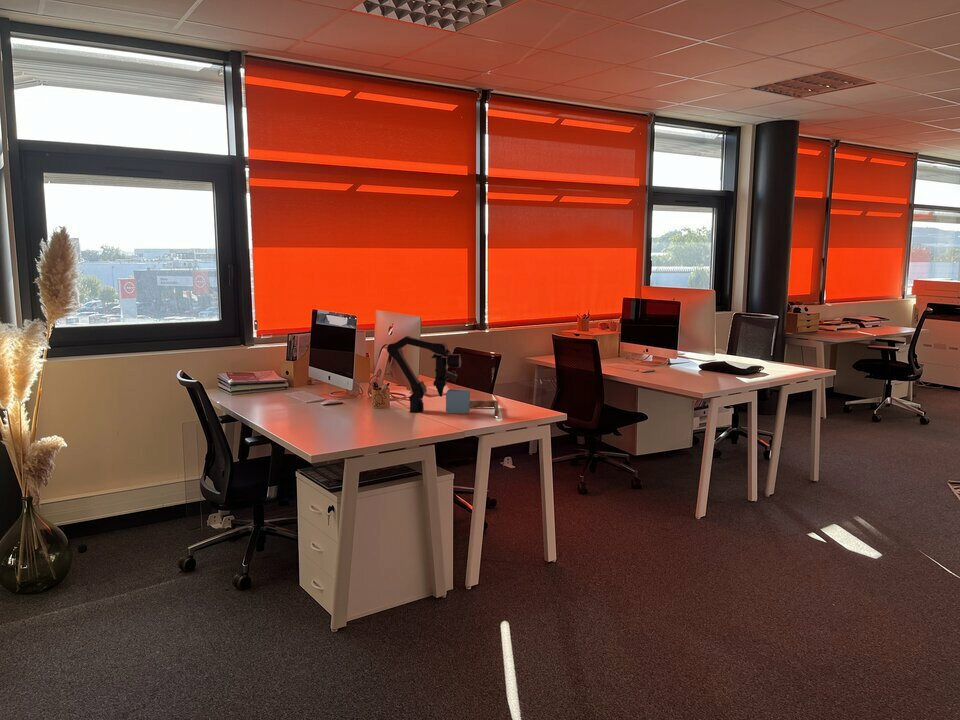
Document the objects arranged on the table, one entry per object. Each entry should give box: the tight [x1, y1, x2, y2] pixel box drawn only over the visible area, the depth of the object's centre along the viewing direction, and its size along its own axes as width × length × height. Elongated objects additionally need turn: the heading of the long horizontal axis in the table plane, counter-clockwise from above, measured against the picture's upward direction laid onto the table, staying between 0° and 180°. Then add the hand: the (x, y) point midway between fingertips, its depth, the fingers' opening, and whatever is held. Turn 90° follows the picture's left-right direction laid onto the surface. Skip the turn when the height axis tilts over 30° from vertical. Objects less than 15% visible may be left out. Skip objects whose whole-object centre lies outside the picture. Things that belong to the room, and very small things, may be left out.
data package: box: [445, 388, 471, 414], centre depth 364 cm, size 12×4×12 cm, turn 81°
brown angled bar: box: [470, 399, 499, 417], centre depth 366 cm, size 20×25×4 cm
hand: (440, 396), depth 364 cm, fingers closed
